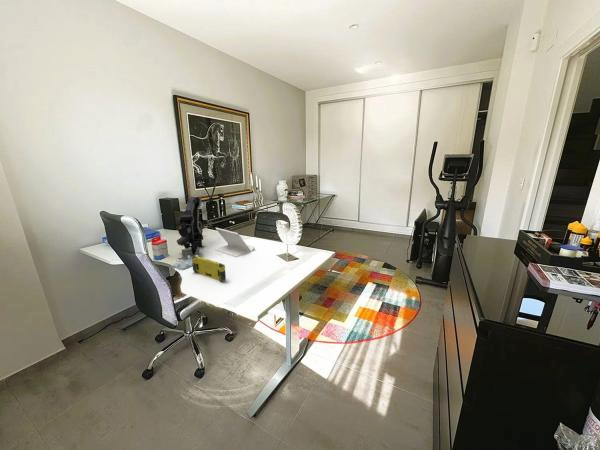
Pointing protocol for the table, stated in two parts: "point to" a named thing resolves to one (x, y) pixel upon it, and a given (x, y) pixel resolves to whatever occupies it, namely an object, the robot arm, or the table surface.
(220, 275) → the gaming console
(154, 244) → the ink box
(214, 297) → the table surface
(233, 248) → the tablet stand
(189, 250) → the drive
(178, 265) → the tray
